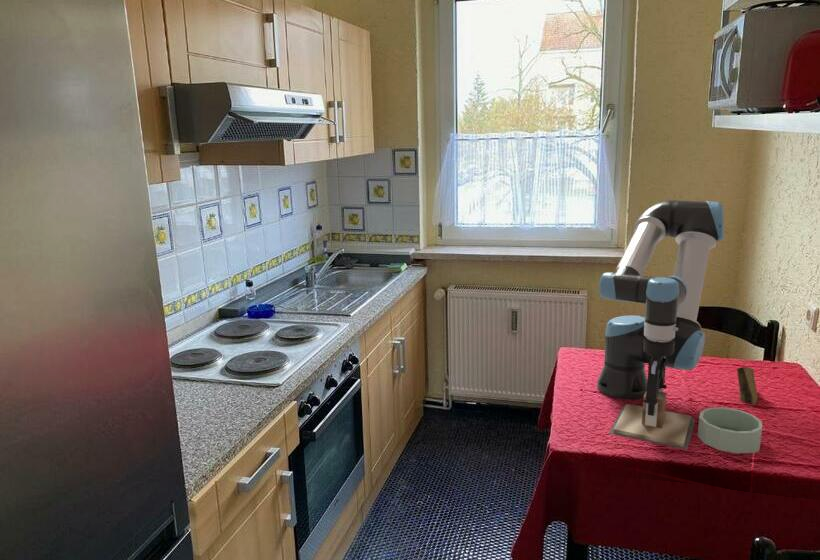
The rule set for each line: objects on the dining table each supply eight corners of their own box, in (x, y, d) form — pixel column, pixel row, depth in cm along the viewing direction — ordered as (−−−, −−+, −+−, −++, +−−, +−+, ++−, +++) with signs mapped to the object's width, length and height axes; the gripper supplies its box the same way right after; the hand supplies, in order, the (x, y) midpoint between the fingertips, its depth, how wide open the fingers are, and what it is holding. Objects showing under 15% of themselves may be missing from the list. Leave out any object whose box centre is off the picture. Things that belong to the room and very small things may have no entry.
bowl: (695, 447, 154) (697, 425, 153) (700, 424, 166) (702, 403, 165) (759, 460, 147) (761, 437, 146) (760, 435, 159) (762, 414, 158)
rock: (741, 378, 189) (720, 381, 184) (761, 362, 184) (740, 364, 179) (764, 409, 183) (743, 412, 178) (786, 393, 177) (764, 396, 172)
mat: (608, 435, 161) (608, 433, 161) (623, 407, 177) (623, 405, 177) (687, 452, 152) (687, 449, 152) (695, 420, 168) (695, 418, 168)
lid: (613, 432, 162) (615, 400, 160) (626, 407, 176) (628, 377, 174) (683, 447, 153) (686, 414, 151) (691, 419, 168) (693, 388, 165)
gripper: (668, 353, 148) (662, 438, 153) (680, 327, 166) (674, 405, 171) (636, 348, 152) (631, 431, 157) (650, 324, 170) (645, 400, 175)
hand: (653, 417), depth 164 cm, fingers open, 9 cm apart
